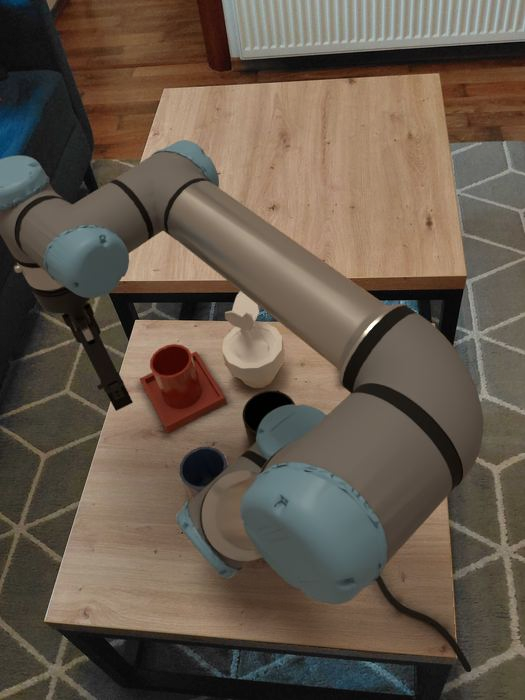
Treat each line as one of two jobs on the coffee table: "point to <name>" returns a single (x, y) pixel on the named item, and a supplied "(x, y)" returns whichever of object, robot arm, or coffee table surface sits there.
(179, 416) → the red tray
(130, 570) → the coffee table surface
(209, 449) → the blue cup
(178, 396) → the red cup
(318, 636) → the coffee table surface
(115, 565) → the coffee table surface
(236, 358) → the potted plant
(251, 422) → the mug
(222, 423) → the coffee table surface
